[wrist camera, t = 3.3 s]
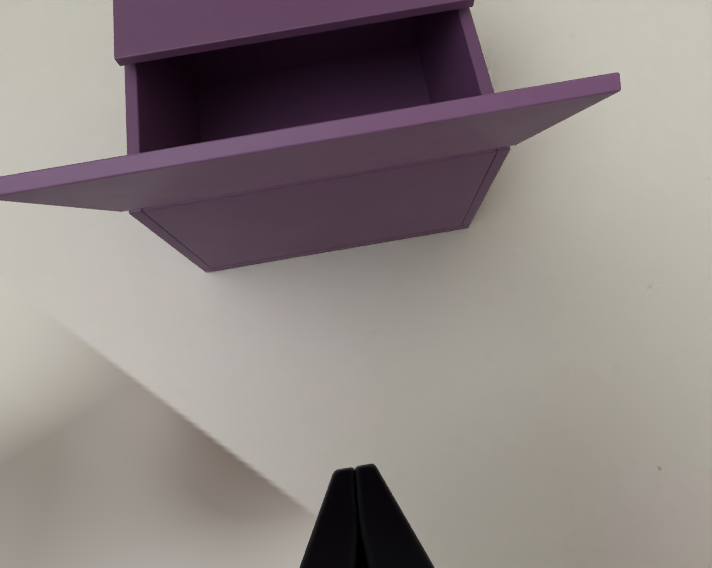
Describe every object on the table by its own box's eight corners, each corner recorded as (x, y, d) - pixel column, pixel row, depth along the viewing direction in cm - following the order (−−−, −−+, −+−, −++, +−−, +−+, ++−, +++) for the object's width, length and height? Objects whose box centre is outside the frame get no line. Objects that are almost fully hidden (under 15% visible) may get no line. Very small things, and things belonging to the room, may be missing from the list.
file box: (468, 228, 23) (518, 136, 15) (205, 272, 23) (115, 204, 15) (422, 43, 26) (443, -114, 18) (191, 82, 26) (110, -58, 18)
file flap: (514, 133, 15) (516, 144, 15) (117, 200, 15) (120, 211, 15) (620, 71, 9) (622, 90, 9) (-25, 180, 9) (-21, 199, 9)
